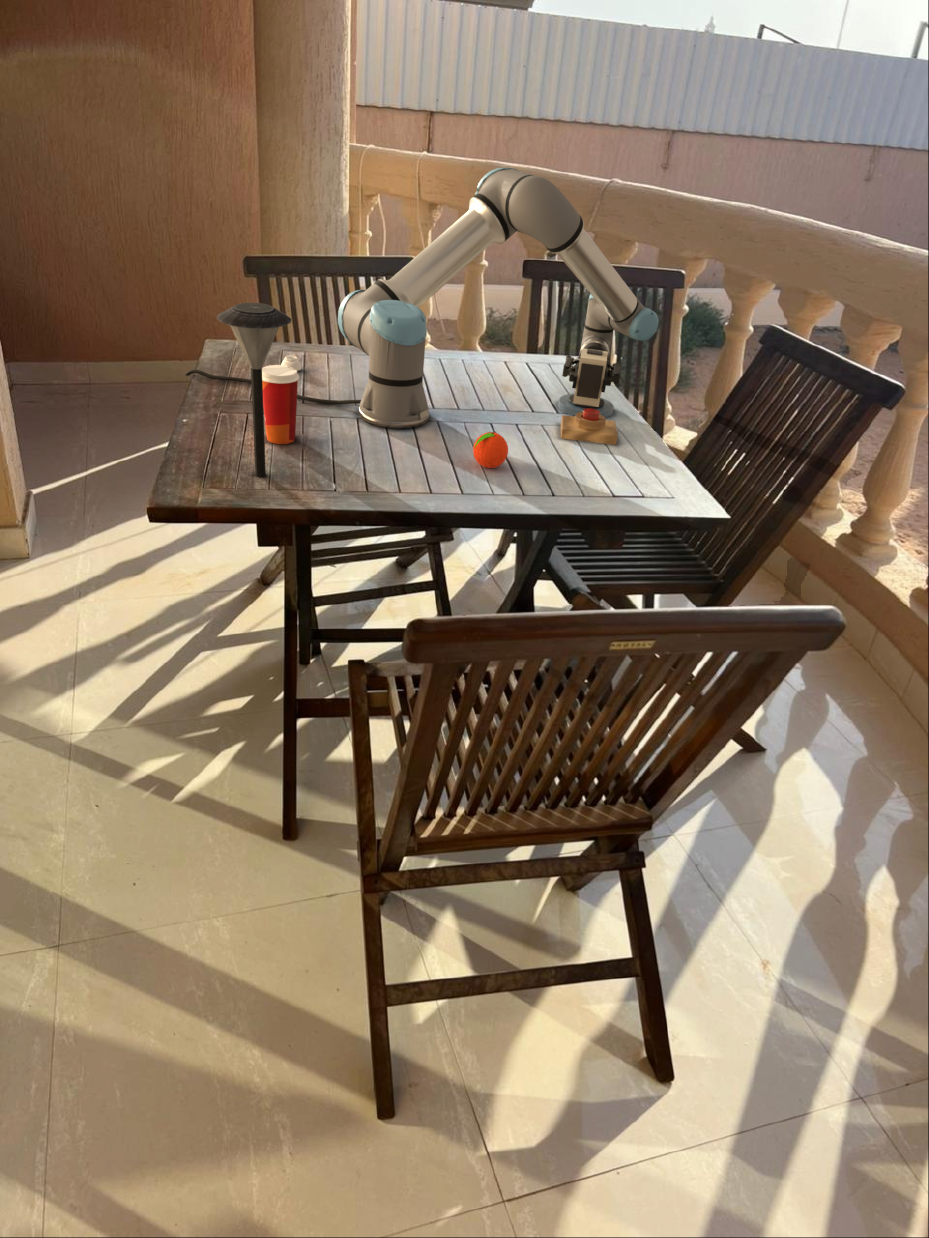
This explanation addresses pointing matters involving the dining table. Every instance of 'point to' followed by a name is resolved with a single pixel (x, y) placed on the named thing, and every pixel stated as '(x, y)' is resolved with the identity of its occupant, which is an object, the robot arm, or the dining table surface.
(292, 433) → the paper cup
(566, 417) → the button block
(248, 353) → the solar garden light
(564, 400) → the swivel base
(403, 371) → the robot arm
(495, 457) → the clementine
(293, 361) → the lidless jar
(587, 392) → the panel
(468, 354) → the dining table surface
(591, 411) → the button
